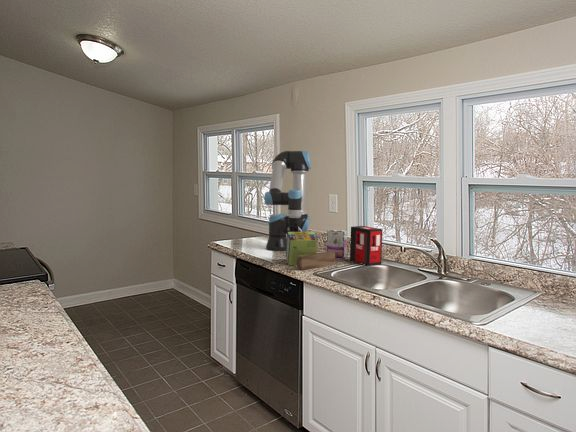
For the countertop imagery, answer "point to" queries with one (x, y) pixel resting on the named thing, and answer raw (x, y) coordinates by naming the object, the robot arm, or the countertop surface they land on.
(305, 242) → the protein box
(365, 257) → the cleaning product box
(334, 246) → the candy bar box
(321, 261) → the walnut block
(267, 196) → the robot arm
